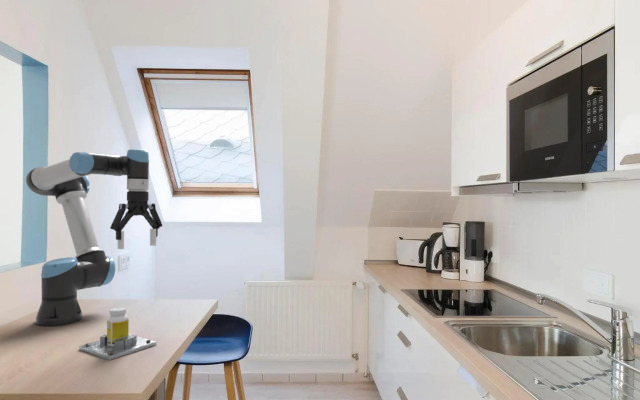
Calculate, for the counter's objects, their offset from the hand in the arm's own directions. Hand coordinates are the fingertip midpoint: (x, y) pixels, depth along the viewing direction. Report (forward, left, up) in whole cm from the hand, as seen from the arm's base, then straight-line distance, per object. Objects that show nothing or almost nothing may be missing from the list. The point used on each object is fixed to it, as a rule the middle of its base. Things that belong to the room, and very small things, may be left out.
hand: (137, 247), depth 162 cm
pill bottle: (+18, -19, -28) cm, 38 cm away
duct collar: (+18, -19, -29) cm, 39 cm away
